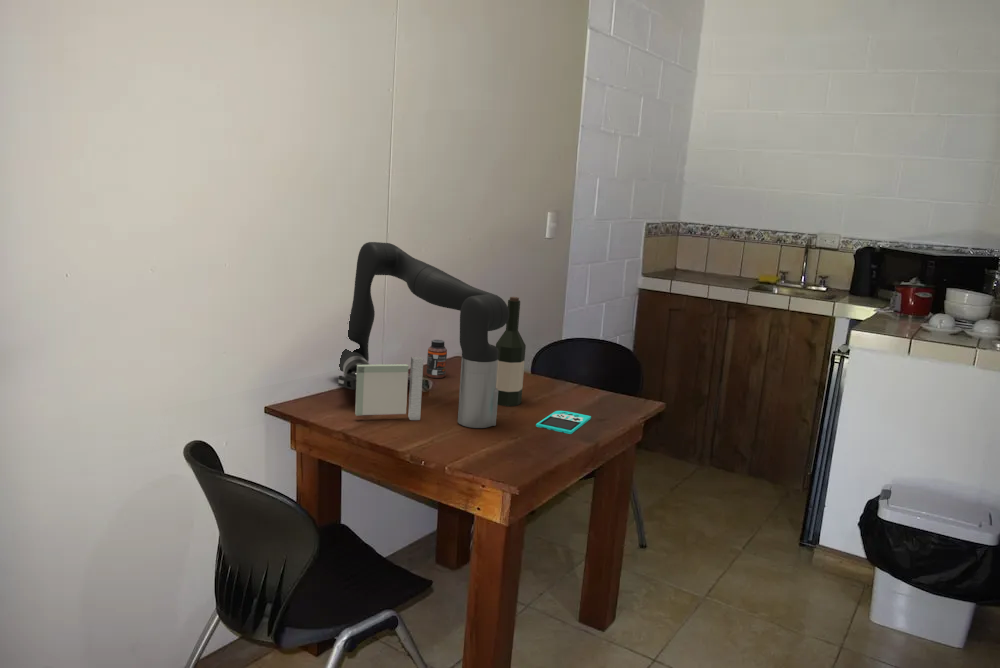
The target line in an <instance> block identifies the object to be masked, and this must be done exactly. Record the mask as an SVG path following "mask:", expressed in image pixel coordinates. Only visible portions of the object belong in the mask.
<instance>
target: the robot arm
mask: <svg viewBox="0 0 1000 668" xmlns="http://www.w3.org/2000/svg"><path fill="white" fill-rule="evenodd" d="M357 255H358V256H357V262H356V270H355V278H354V289H353V298H352V305H351V309H350V313H351V314H350V313H349V316H350V321H349V330H348V337H349V339H350V340H349V339H348V340H349V341H352V342H353V343H355V344H357V345H358V346H360V348H359V349H356V350H354V351H353V352H351V351H349V350H347V349H345V350H344V351H343V352H342V355H341V358H340V364H339V367H340V370H339V371H340V372H342V373H343V375H338V386H339V387H343V388H346V389H348V390H353V391H356V375H357V365H370V363H369V359H370V357H369V343H370V342H369V340H370V335H371V332H372V328H373V325H374V320H375V314H376V313H375V306H374V302H373V298H372V289H371V288H372V283H373V280H374V278H375V276H392V277H395V278H396V279H399V280H402V281H403V282H405V283H406V285H407V287H408V289H409V291H410V292H411V293H412V294H413V295H415V296H416V297H417V298H418V299H421V300H423V301H425V302H427V303H429V304H431V305H434V306H437V307H441V308H445V309H450V310H456V311H460V313H459V345H460V349H461V363H460V380H459V394H458V395H459V396H458V397H459V398H458V408H457V409H458V411H457V412H458V413H457V423H458V424H459V425H460V426H463V427H466V428H472V429H485V428H490V427H493V426H494V427H495V426H496V425H497V413H498V405H497V403H498V389H497V388H496V381H497V367H498V353H499V351H498V348H497V347H496V345H493V344H490V342H489V332H493V331H496V330H500V329H501V328H504V326H506V323H507V321H508V319H509V309H508V303H506V301H504V298H502V297H500V296H499V295H498V294H495V293H491V292H490V291H489V292H488V291H486V290H483V289H480V288H476V287H474V286H472V285H470V284H468V283H466V282H464V281H462V280H461V279H459V278H457V277H455V276H453V275H451V274H449V273H448V272H445V271H444V270H443V269H442V270H441V269H440V268H438V267H436V266H433V265H431V264H428V263H427V262H425V261H421V260H420V259H417V258H415V257H413V256H411V255H410V254H408V253H407V252H405V251H404V250H402V249H401V248H400V247H399V246H396V245H395V244H392V243H390V242H382V241H381V242H377V241H369V242H365V243H364V244H363V245H362V246H361V247H360V249H359V252H358V254H357Z"/></svg>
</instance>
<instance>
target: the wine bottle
mask: <svg viewBox="0 0 1000 668" xmlns="http://www.w3.org/2000/svg"><path fill="white" fill-rule="evenodd" d="M519 299H520V297H518V296H510V297H509V299H508V300H507V307H508V309H509V319H508V321H507V323H506V324H505V330H504V332H503V333H502V334H501V336H500V337H499V339H498V340H497V341H496V343H495V346H496V347H497V348H498V351H499V353H498V367H497V381H496V388H497V389H498V403H497V406H502V407H503V406H504V407H516V406H517V407H518V406H519V405H520V404H522V398H523V397H522V395H523V384H524V371H525V370H524V369H525V361H526V360H525V358H526V343H525V341H524V340H523V337H522V336H521V334H520V332H519V324H520V323H519V322H520V321H519V320H520V313H521V312H520V311H521V300H519Z"/></svg>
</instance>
